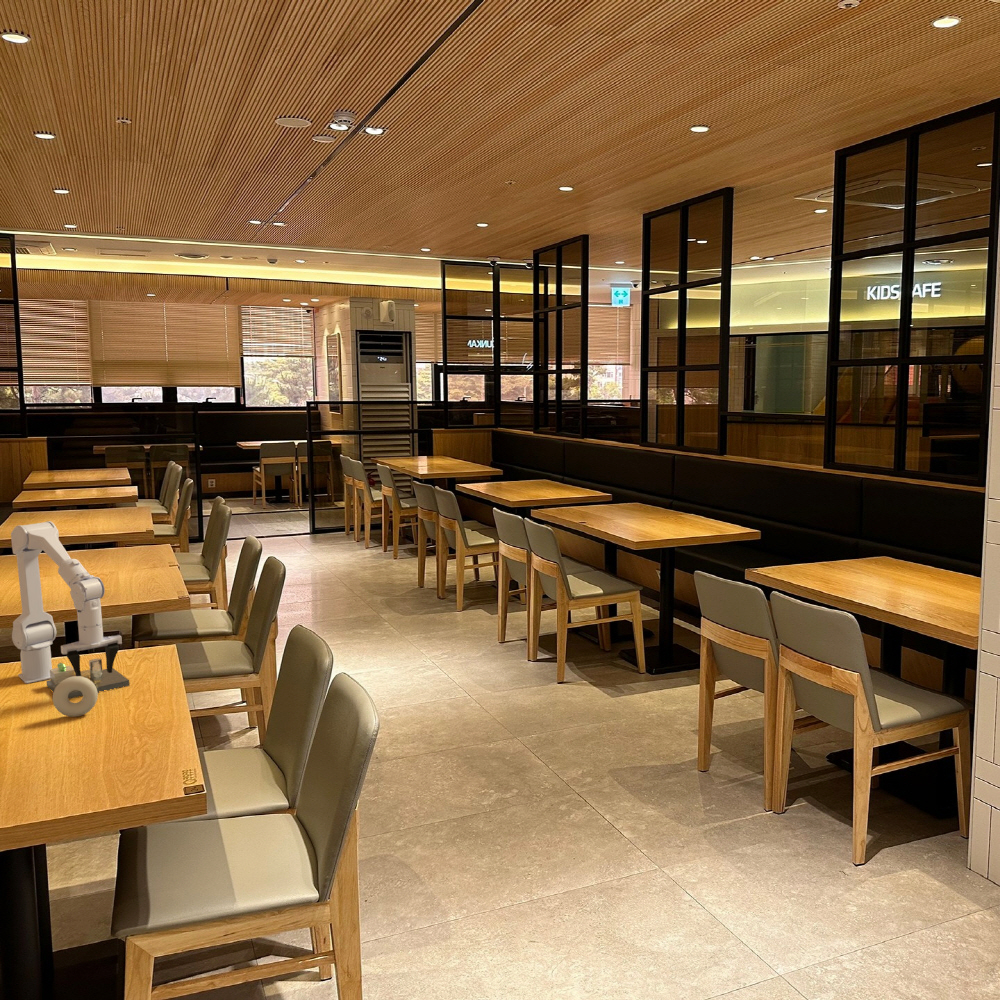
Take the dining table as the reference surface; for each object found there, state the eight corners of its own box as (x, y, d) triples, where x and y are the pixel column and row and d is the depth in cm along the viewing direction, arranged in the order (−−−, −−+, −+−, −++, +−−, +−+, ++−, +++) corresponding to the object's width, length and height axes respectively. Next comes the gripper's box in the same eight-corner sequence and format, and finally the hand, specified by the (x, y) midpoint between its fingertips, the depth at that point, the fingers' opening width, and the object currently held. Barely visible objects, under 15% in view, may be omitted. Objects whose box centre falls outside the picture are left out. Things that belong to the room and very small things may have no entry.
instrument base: (47, 686, 241) (45, 664, 240) (112, 672, 251) (111, 651, 251) (61, 700, 229) (59, 677, 228) (129, 685, 240) (127, 663, 239)
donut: (99, 710, 221) (96, 671, 220) (99, 715, 218) (96, 675, 217) (54, 717, 217) (51, 677, 216) (53, 721, 214) (50, 681, 213)
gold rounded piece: (72, 680, 240) (70, 655, 239) (95, 675, 244) (93, 650, 243) (87, 690, 232) (85, 664, 231) (111, 684, 236) (109, 658, 235)
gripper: (64, 632, 225) (68, 684, 227) (123, 622, 234) (127, 672, 236) (57, 627, 230) (61, 678, 232) (115, 617, 239) (119, 666, 241)
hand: (94, 675), depth 234 cm, fingers open, 7 cm apart
